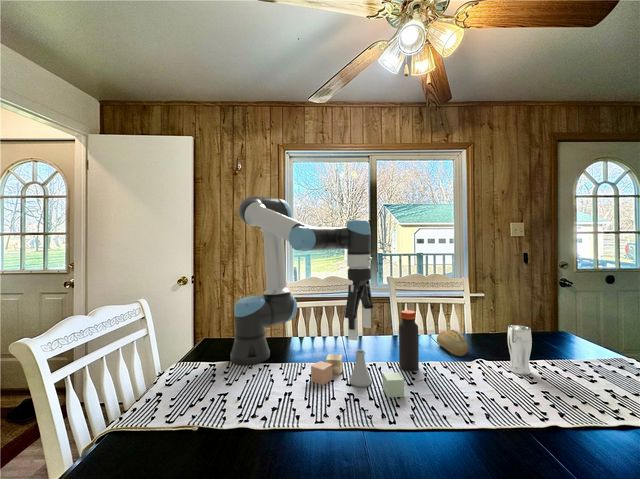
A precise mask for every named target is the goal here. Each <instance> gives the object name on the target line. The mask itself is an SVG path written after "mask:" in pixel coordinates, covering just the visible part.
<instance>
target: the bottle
mask: <svg viewBox="0 0 640 479" xmlns="http://www.w3.org/2000/svg"><path fill="white" fill-rule="evenodd" d="M400 313H401V314H400V315H401V316H400V317H401V322H400V323H399V324H398V367H399V368H400V369H401V370H403V371H408V372H415V371H418V370H419V367H420V366H419V364H420V363H419V359H420V358H419V357H420V356H419V353H420V352H419V325H418V324H417V323H416V311H415V310H410V309H409V310H408V309H405V310H401V311H400Z"/></svg>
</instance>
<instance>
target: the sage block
mask: <svg viewBox="0 0 640 479" xmlns="http://www.w3.org/2000/svg"><path fill="white" fill-rule="evenodd" d="M382 390H383V392H384V394H385V395H386V398H400V397H405V379H404V378H403V376H402V375H401V374H400V372H397V371H395V372H382Z"/></svg>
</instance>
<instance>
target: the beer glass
mask: <svg viewBox="0 0 640 479" xmlns="http://www.w3.org/2000/svg"><path fill="white" fill-rule="evenodd" d="M531 329H532V328H530V327H528V326H525V325H518V324H511V325H508V326H507V346H508V352H509V355H510V363H509V368H508V369H509V371H510V372H512V373H514V374H516V375H520V376H521V375H522V376H527V375H528V376H529V375H530V374H531V368H530V357H531V352H532V346H533V345H532V343H533V341H532V340H533V338H532V330H531Z"/></svg>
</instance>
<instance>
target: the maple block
mask: <svg viewBox="0 0 640 479" xmlns="http://www.w3.org/2000/svg"><path fill="white" fill-rule="evenodd" d="M325 363H329V364H332V375H339V376H341V375H342V371H343V354H337V353H335V354H332V353H328V354H327V356H326V359H325Z"/></svg>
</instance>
